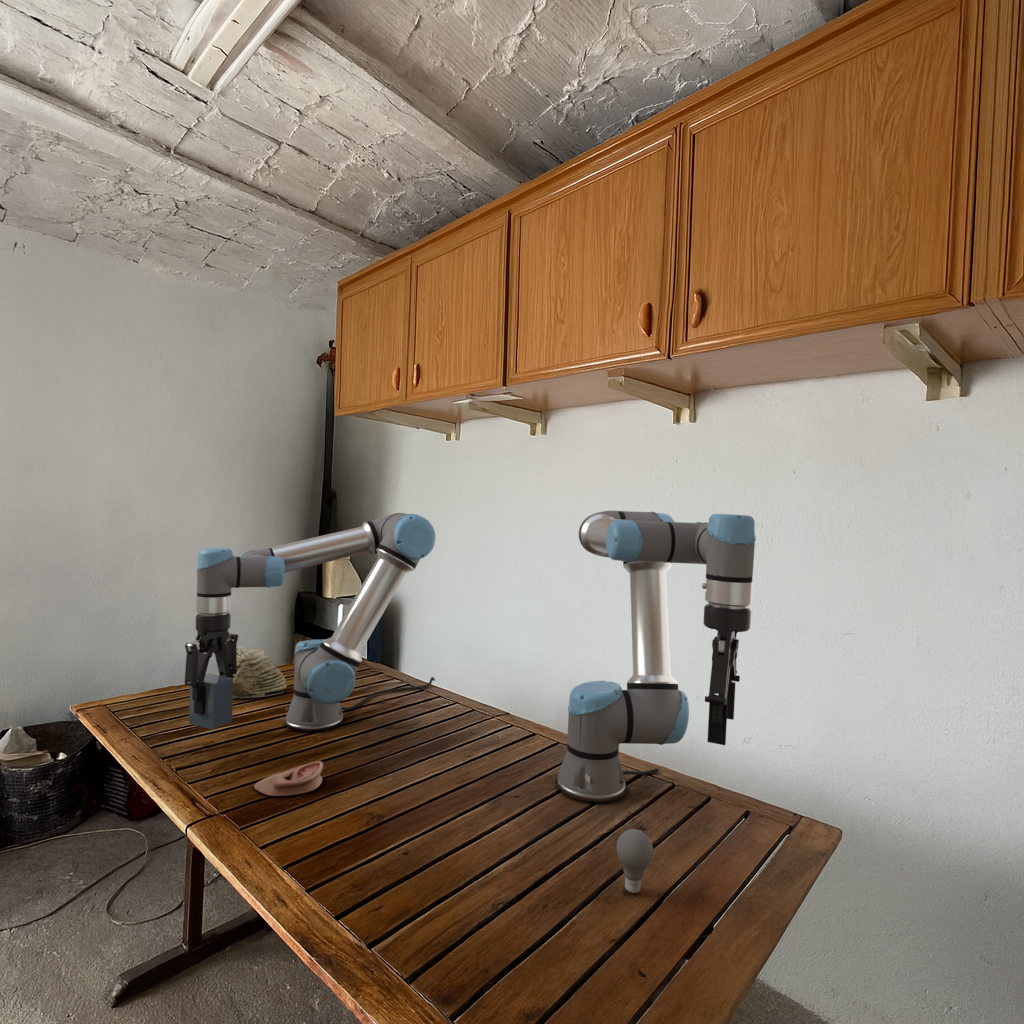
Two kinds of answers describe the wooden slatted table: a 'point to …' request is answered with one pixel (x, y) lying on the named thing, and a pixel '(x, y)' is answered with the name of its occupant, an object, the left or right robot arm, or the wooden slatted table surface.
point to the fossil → (256, 675)
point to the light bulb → (634, 857)
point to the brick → (214, 702)
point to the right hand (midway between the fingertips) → (721, 729)
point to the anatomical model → (292, 781)
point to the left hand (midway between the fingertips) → (210, 709)
